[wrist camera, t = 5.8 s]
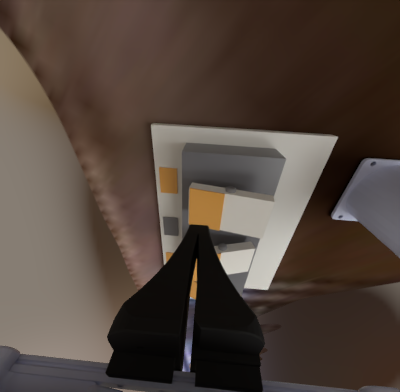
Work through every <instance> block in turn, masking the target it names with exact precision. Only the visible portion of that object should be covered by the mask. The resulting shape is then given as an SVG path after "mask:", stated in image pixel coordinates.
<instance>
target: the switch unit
mask: <svg viewBox="0 0 400 392" xmlns="http://www.w3.org/2000/svg"><path fill="white" fill-rule="evenodd" d="M151 132H152V142H153V153H154V164H155V174H156V185H157V196H158V206H159V217H160V227H161V238H162V249H163V259H164V265H165V264H166V262H167V261H168V260H169V259H170V257H171V256H172V255H173V253H174V252H175V251H176V249H177V248H178V246H179V245H180V243H181V241H182V240H183V238H184V236H185V234H186V232H187V230H188V228H189V225H190V224H189V223H188V207H189V187H190V185H191V183H192V182H193V183H199V184H205V185H211V186H217V187H223V188H226V187H227V186H233V187H235V188H236V190H242V191H248V192H254V193H260V194H266V195H272V196H274V201H275V203H274V206H273V209H272V212H271V215H270V218H269V221H268V224H267V227H266V230H265V232H264V235H263V238H262V239H260V238H256V237H251V236H246V235H241V234H237V233H232V232H227V231H222V230H219V231H218V230H213V229H209V231H210V236H211V239H212V242H213V245H214V246H219V244H220V243H224V244H226V245H227V244H235V243H243V242H252V243H253V245H254V247H255V251H254V255H253V258H252V261H251V264H250V267H249V270H248V272H241V273H235V274H229V275H228V277H229V279H230V280H231V282H232V283H233V285H234V286H235V288H236V290H237V291H238V293H239V294H240V295H242V292H243V289H244V288H252V289H263V290H268V287H269V285H270V283H271V281H272V279H273V277H274V274H275V272H276V270H277V268H278V266H279V264H280V262H281V259H282V257H283V255H284V253H285V251H286V249H287V246H288V244H289V242H290V240H291V238H292V236H293V233H294V231H295V229H296V227H297V225H298V223H299V221H300V218H301V216H302V214H303V212H304V210H305V208H306V205H307V203H308V201H309V199H310V197H311V195H312V192H313V190H314V188H315V186H316V184H317V182H318V180H319V177H320V175H321V173H322V171H323V169H324V167H325V164H326V162H327V160H328V158H329V156H330V154H331V151H332V149H333V147H334V145H335V143H336V141H337V139H338V137H337V136H334V135H330V134H315V133H300V132H285V131H269V130H254V129H239V128H224V127H209V126H193V125H178V124H163V123H153V124H151Z"/></svg>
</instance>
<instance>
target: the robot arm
mask: <svg viewBox="0 0 400 392" xmlns="http://www.w3.org/2000/svg"><path fill="white" fill-rule="evenodd" d="M372 162H373V163H372ZM371 163H372V164H371ZM370 164H371V165H370ZM331 217H332V218H333V219H336V220H349V221H359V222H360V223H361V224H362V225H363V226H365V227H366V228H367V229H368V230H369V231H370V232H371V233H372V234H373V235H375V236H376V237H377V238H378V239H379V240H380V241H381V242H382V243H384V244H385V245H386V246H387V247H388V248H389V249H390V250H391V251H393V252H394V253H395V254H396V255H397V256H398V257H399V258H400V160H391V159H377V158H366V159H364V160H362V162H361V163H360V165H359V167H358V168H357V170H356V172H355V173H354V175H353V177H352V179H351V180H350V182H349V184H348V186H347V187H346V189H345V191H344V193H343V194H342V196H341V198H340V200H339V201H338V203H337V205H336V207H335V208H334V210H333V212H332V213H331ZM196 259H197V291H196V303H195V314H194V327H193V341H192V354H191V368H190V372H183V371H182V369H183V359H184V349H185V339H186V329H187V319H188V310H189V300H190V292H191V286H192V280H193V275H194V270H195V265H196ZM107 338H108V341H109V343H110V345H111V347H112V348H113V350H114V352H113V354H112V357H111V359H110V362H109V363H100V362H91V361H81V360H71V359H63V358H53V357H45V356H35V355H26V354H20V352H19V351H18V350H16V349H14V348H12V347H8V346H0V392H123V391H120V390H116V389H112V388H119V389H127V390H136V391H145V392H400V390H398V389H397V388H390V387H380V386H365V387H362V388H360V389H359V391H358V390H349V389H339V388H331V387H321V386H312V385H303V384H294V383H284V382H275V381H266V380H261V373H260V366H261V363H260V357H259V353H260V352H261V350H262V349H263V347H264V345H265V342H264V337H263V333H262V330H261V327H260V324H259V322H258V319H257V317H256V315H255V314H254V312H253V311H252V310H251V309H250V307H249V306H248V305H247V304H246V302H245V301H244V300H243V298H242V297H241V295H240V294H239V293H238V291H237V290H236V288H235V286H234V285H233V283H232V282H231V280H230V279H229V277H228V275H227V273H226V272H225V270H224V268H223V266H222V264H221V262H220V260H219V258H218V255H217V253H216V251H215V248H214V245H213V242H212V239H211V236H210V231H209V226H207V225H195V224H191V225H189V228H188V230H187V232H186V234H185V236H184V238H183V240H182V241H181V243H180V245H179V246H178V248H177V249H176V251H175V252H174V253H173V255H172V256H171V257H170V259H169V260H168V261H167V262H166V264H165V265H164V266H163V267H162V268H161V269H160V270H159V272H158V273H157V274H156V275H155V276H154V277H153V278H152V279H151V280H150V281H149V282H148V283H147V284H145V285H144V286H143V287H142V288H141V289H140V290H139V291H138V292H137V293H136V294H134V295H133V296H132V297H131V298H129V299H128V300H127V301H126V302H125V303H124V304H123V305H122V307H121V309H120V310H119V312H118V314H117V315H116V317H115V319H114V321H113V324H112V326H111V328H110V331H109V334H108V336H107ZM109 387H110V388H109Z"/></svg>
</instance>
